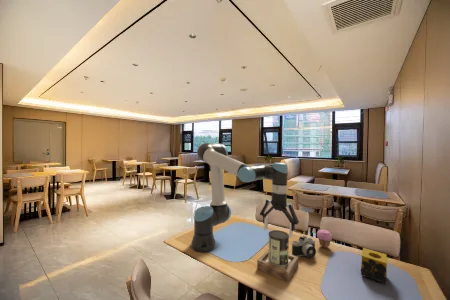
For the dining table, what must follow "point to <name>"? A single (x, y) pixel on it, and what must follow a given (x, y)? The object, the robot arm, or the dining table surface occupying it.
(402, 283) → the dining table surface
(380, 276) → the tissue box
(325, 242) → the cupcake
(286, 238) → the coffee can
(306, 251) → the camera
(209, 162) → the robot arm
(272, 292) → the dining table surface
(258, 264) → the wooden box
